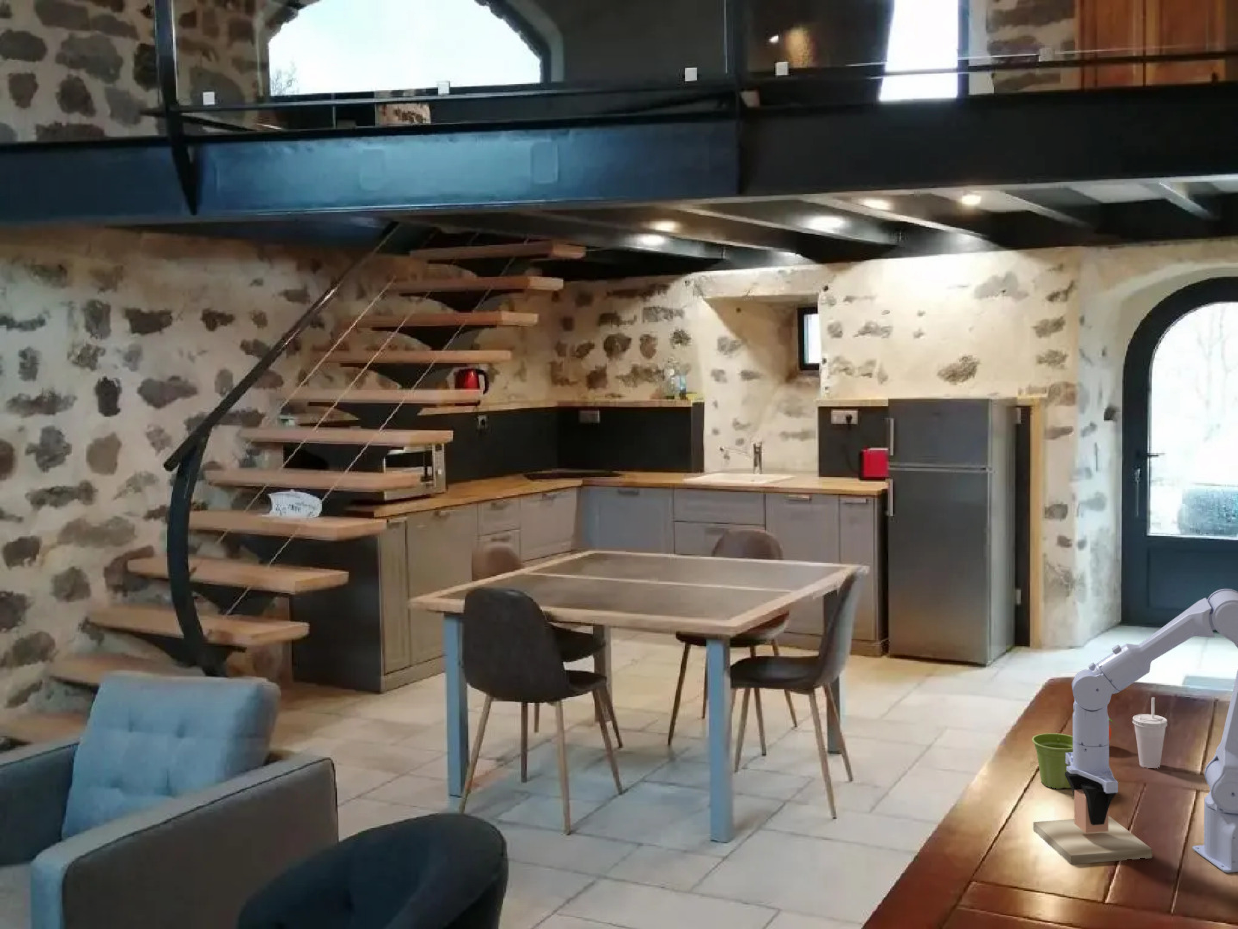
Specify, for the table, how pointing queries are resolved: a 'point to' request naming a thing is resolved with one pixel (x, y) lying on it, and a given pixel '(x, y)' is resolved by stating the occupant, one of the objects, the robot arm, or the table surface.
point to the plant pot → (1053, 758)
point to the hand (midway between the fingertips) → (1090, 818)
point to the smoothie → (1150, 737)
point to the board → (1091, 842)
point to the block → (1085, 814)
